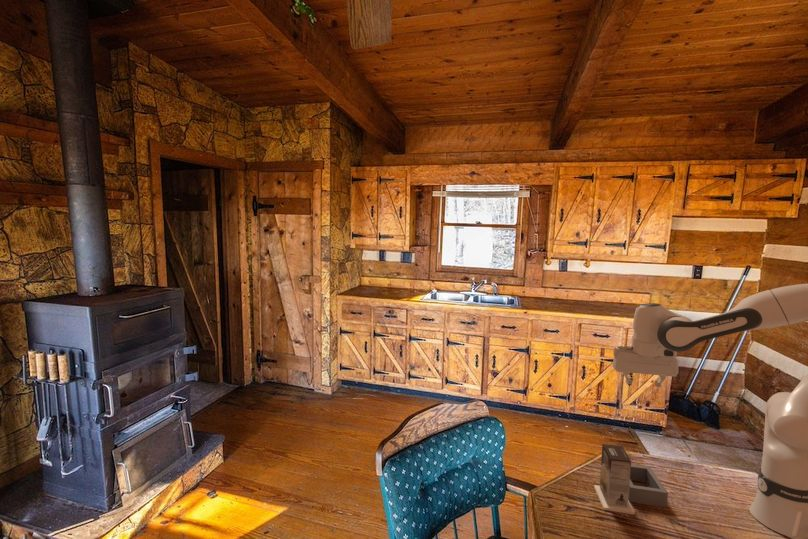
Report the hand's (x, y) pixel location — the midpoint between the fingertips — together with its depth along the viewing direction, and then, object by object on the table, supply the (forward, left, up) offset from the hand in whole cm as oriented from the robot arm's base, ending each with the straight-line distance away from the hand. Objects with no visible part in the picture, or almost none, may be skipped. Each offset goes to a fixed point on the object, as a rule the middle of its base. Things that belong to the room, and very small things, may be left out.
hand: (643, 385), depth 134 cm
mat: (+13, +17, -34) cm, 40 cm away
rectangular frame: (+2, +9, -34) cm, 35 cm away
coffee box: (+13, +17, -34) cm, 40 cm away
